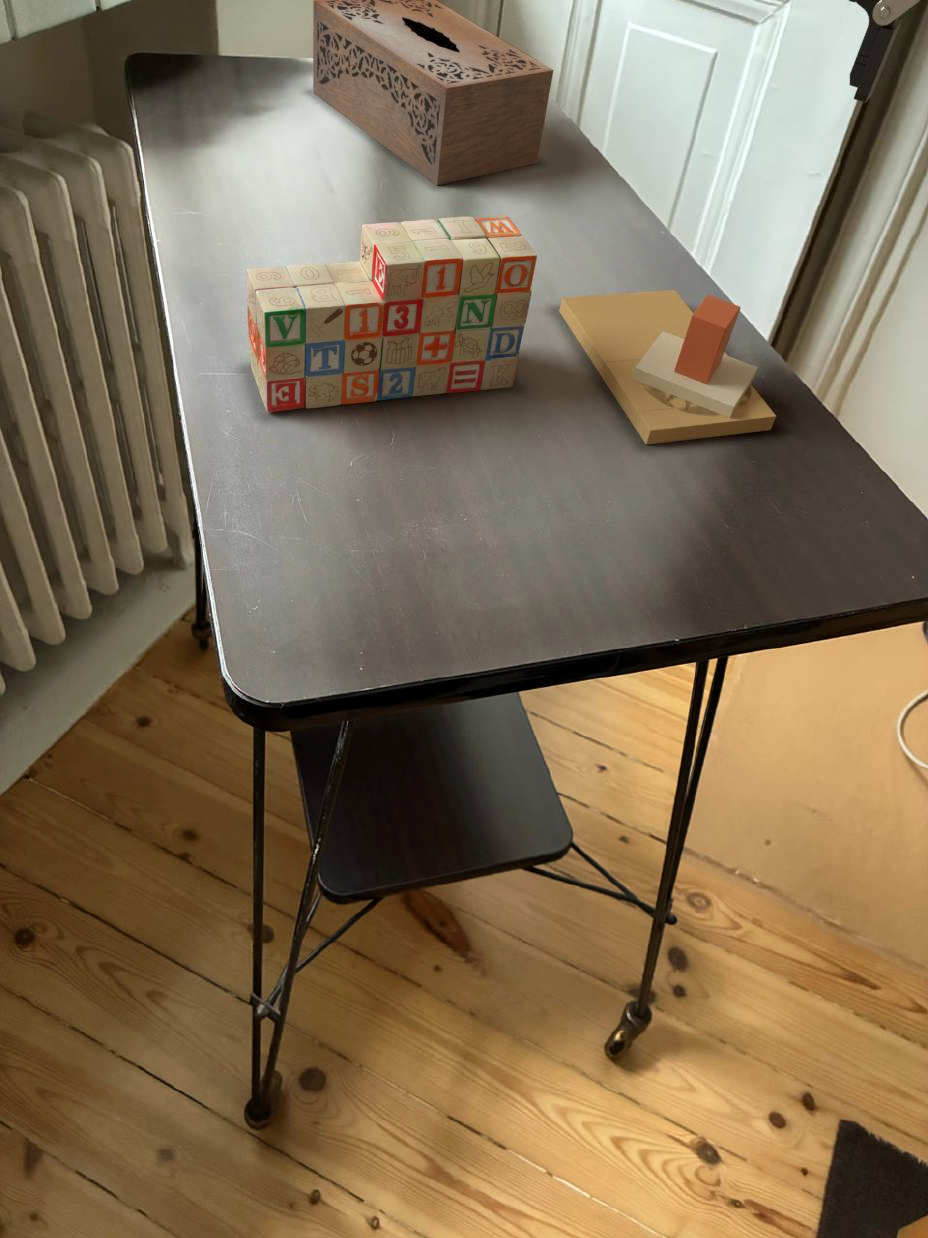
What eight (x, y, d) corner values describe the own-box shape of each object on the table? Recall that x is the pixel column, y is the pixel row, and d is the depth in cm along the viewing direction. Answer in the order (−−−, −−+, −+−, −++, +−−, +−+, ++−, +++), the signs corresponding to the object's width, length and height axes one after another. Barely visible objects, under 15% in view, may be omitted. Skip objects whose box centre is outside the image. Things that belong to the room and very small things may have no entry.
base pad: (771, 430, 85) (778, 415, 84) (645, 444, 81) (650, 430, 80) (672, 302, 97) (676, 289, 96) (558, 311, 93) (561, 297, 92)
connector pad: (748, 390, 88) (780, 311, 82) (724, 430, 83) (756, 349, 77) (655, 354, 90) (680, 274, 84) (627, 391, 86) (651, 309, 80)
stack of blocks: (266, 416, 78) (260, 273, 69) (250, 370, 82) (242, 228, 72) (514, 386, 84) (539, 252, 75) (489, 345, 88) (510, 212, 79)
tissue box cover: (313, 92, 119) (313, -1, 112) (410, 76, 126) (417, -12, 119) (436, 185, 107) (446, 88, 100) (537, 162, 114) (553, 69, 106)
